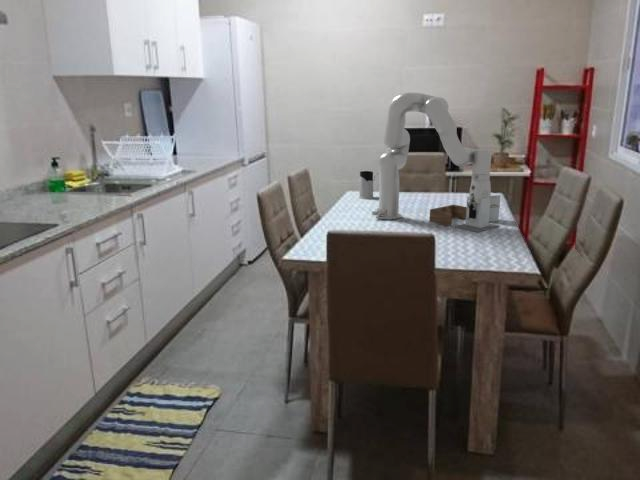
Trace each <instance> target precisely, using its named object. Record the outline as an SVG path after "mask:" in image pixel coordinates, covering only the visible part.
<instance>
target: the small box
mask: <svg viewBox="0 0 640 480" xmlns="http://www.w3.org/2000/svg"><path fill="white" fill-rule="evenodd" d="M468 199H469V196H467V199H466V201H467V200H468ZM473 202H474V203H475V201H473ZM473 206H474V204H473ZM466 207H467V211H466V220H465V224H466V225H468V226H473V227H478V228H483V227H486V226H489V212H490V198H489V197H488V198H483V199H480V204H477V206H476V209H475V210H476V218H475V219H473V218H469V207H468V205H467V204H466Z"/></svg>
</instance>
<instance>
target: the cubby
mask: <svg viewBox="0 0 640 480" xmlns="http://www.w3.org/2000/svg"><path fill="white" fill-rule="evenodd" d="M466 211H467V206H463V205H457V204H450V205H445V206H439V207H434V208H431V209H429V222H430V223H432V224H437V225H442V226H447V227H452V221H453V218H455V219H460V220H465V221H466Z"/></svg>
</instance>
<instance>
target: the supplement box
mask: <svg viewBox="0 0 640 480" xmlns="http://www.w3.org/2000/svg"><path fill="white" fill-rule="evenodd" d="M500 203H501V194H498V193H494V192H491V199H490V212H489V222H499V219H500V218H499V217H500V207H501V205H500Z"/></svg>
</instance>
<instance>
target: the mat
mask: <svg viewBox="0 0 640 480" xmlns="http://www.w3.org/2000/svg"><path fill="white" fill-rule="evenodd" d="M498 227H500V224H495V223H489V226H486V227H483V228H478V227H473V226H468V225H466V223H463V224H459V225H455V226H454V228H457V229H461V230H466V231H470V232H474V233H481V232H485V231H488V230H492V229H496V228H498Z"/></svg>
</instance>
